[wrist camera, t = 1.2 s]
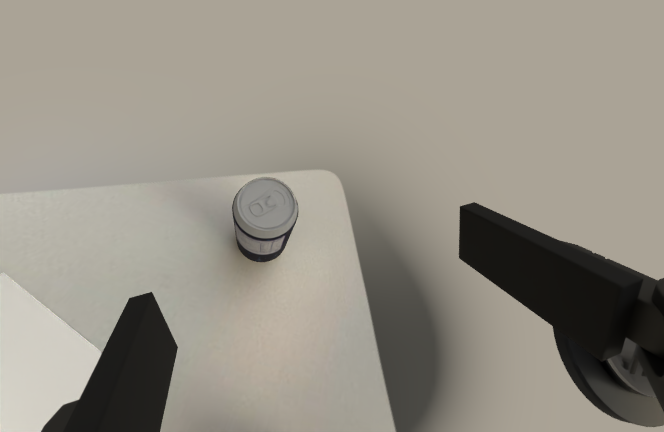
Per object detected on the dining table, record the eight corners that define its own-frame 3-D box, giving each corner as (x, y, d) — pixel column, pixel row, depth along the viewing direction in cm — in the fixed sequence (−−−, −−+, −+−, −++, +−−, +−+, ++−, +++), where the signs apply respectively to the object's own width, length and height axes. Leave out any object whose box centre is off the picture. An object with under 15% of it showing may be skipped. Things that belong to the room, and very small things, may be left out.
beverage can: (294, 247, 38) (313, 214, 27) (253, 272, 36) (254, 248, 25) (270, 209, 39) (278, 162, 28) (227, 231, 37) (218, 190, 26)
